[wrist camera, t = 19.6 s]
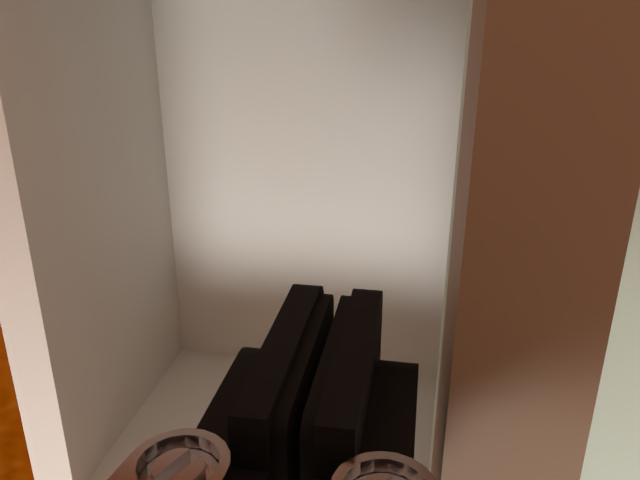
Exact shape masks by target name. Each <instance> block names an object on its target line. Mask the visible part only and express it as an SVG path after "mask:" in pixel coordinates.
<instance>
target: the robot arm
mask: <svg viewBox="0 0 640 480" xmlns="http://www.w3.org/2000/svg"><path fill="white" fill-rule="evenodd" d="M382 306H383V291H380V290H367V289H354V288H353V290H352V294H351V296H346V295H341V297H340V300H339V303H338V306H337V309H336V312H335V316H334V297H333V294H324V290H323V286H315V285H302V284H293V285H292V287H291V289H290V291H289V293H288V295H287V297H286V299H285V301H284V303H283V305H282V307H281V309H280V311H279V313H278V315H277V317H276V319H275V321H274V323H273V325H272V327H271V329H270V331H269V333H268V335H267V336H266V338H265V340H264V342H263V344H262V346H261V348H252V347H243V348H241V350H240V351H239V352H238V354H237V356H236V358H235V360H234V361H233V363H232V365H231V367H230V368H229V370H228V372H227V374H226V376H225V377H224V379H223V381H222V383H221V385H220V386H219V388H218V390H217V392H216V394H215V395H214V397H213V399H212V401H211V402H210V404H209V406H208V408H207V410H206V411H205V413H204V415H203V417H202V419H201V420H200V422H199V424H198V426H197V428H196V429H195V428H183V429H173V430H170V431H166V432H163V433H160V434H157V435H155V436H153V437H151V438H149V439H148V440H146V441H144V442H143V443H142V444H141V445H139V446H138V447H137V448H136V449H135V450H133V452H132V453H131V454H130V455H129V456H128V457H127V458H126V459H125V460H124V462H123V463H122V464H121V465H120V466H119V467H118V468H117V469H116V470H115V472H114V473H113V474H112V475H111V476H110V477H109V478H108V479H107V480H436V478H435V477H434V476H433V474H432V473H431V472H430V471H429V470H428V469H427V468H426V467H425V466H424V465H422V464H421V463H419V462H417V461H416V460H414V448H415V429H416V410H417V391H418V371H419V363H408V362H398V361H387V360H380V355H381V330H382Z"/></svg>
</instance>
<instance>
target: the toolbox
mask: <svg viewBox="0 0 640 480" xmlns="http://www.w3.org/2000/svg"><path fill="white" fill-rule="evenodd" d="M469 3H470V0H0V323H1V327H2V332H3V337H4V341H5V346H6V350H7V355H8V360H9V364H10V369H11V374H12V378H13V383H14V387H15V392H16V397H17V401H18V406H19V411H20V415H21V420H22V424H23V429H24V434H25V438H26V443H27V448H28V452H29V457H30V461H31V466H32V471H33V475H34V480H107V479H108V478H109V477H110V476H111V475H112V474H113V473H114V472H115V470H116V469H117V468H118V467H119V466H120V465H121V464H122V463H123V462H124V460H125V459H126V458H127V457H128V456H129V455H130V454H131V453H132V452H133V450H135V449H136V448H137V447H138V446H139V445H141V444H142V443H143V442H144V441H146V440H148V439H149V438H151V437H153V436H155V435H157V434H160V433H163V432H166V431H170V430H173V429H183V428H195V429H196V428H197V426H198V424H199V422H200V420H201V419H202V417H203V415H204V413H205V411H206V410H207V408H208V406H209V404H210V402H211V401H212V399H213V397H214V395H215V394H216V392H217V390H218V388H219V386H220V385H221V383H222V381H223V379H224V377H225V376H226V374H227V372H228V370H229V368H230V367H231V365H232V363H233V361H234V360H235V358H236V356H237V354H238V352H239V351H240V350H241V348H243V347H252V348H261V346H262V344H263V342H264V340H265V338H266V336H267V335H268V333H269V331H270V329H271V327H272V325H273V323H274V321H275V319H276V317H277V315H278V313H279V311H280V309H281V307H282V305H283V303H284V301H285V299H286V297H287V295H288V293H289V291H290V289H291V287H292V285H293V284H302V285H315V286H323V290H324V294H333V297H334V316H335V312H336V309H337V306H338V303H339V300H340V297H341V295H346V296H351V294H352V290H353V288H354V289H367V290H380V291H383V306H382V330H381V355H380V360H387V361H398V362H408V363H419V371H418V391H417V410H416V429H415V448H414V460H416V461H417V462H419V463H421V464H422V465H424V466H425V467H426V468H427V469H428V470H429V461H430V449H431V438H432V427H433V415H434V404H435V392H436V381H437V369H438V358H439V346H440V335H441V324H442V312H443V301H444V289H445V278H446V266H447V255H448V244H449V232H450V221H451V209H452V198H453V186H454V175H455V164H456V152H457V141H458V129H459V118H460V106H461V95H462V83H463V72H464V61H465V49H466V38H467V26H468V15H469Z"/></svg>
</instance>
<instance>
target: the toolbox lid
mask: <svg viewBox="0 0 640 480" xmlns="http://www.w3.org/2000/svg"><path fill="white" fill-rule="evenodd" d="M429 471H430V472H431V473H432V474H433V476H434V477H435V478H436V480H640V0H470V3H469V15H468V26H467V38H466V49H465V61H464V72H463V83H462V95H461V106H460V118H459V129H458V141H457V152H456V164H455V175H454V186H453V198H452V209H451V221H450V232H449V244H448V255H447V266H446V278H445V289H444V301H443V312H442V324H441V335H440V346H439V358H438V369H437V381H436V392H435V404H434V415H433V427H432V438H431V449H430V461H429Z"/></svg>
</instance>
